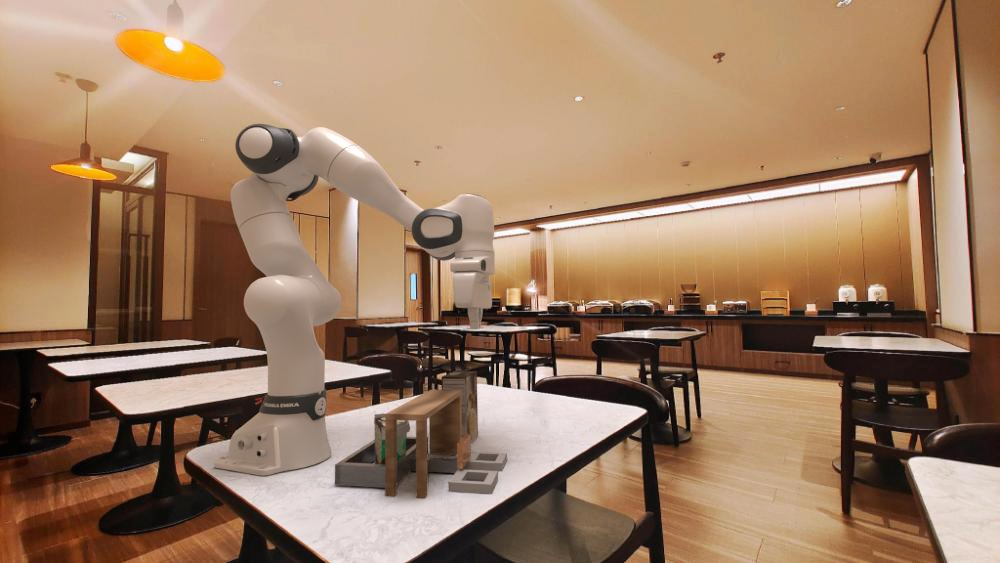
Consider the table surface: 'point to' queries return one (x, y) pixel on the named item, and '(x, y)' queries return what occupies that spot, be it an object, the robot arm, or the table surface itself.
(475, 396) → the coffee box
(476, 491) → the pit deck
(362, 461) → the shallow grey tray
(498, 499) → the table surface
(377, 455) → the food container
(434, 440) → the brown wooden bench
